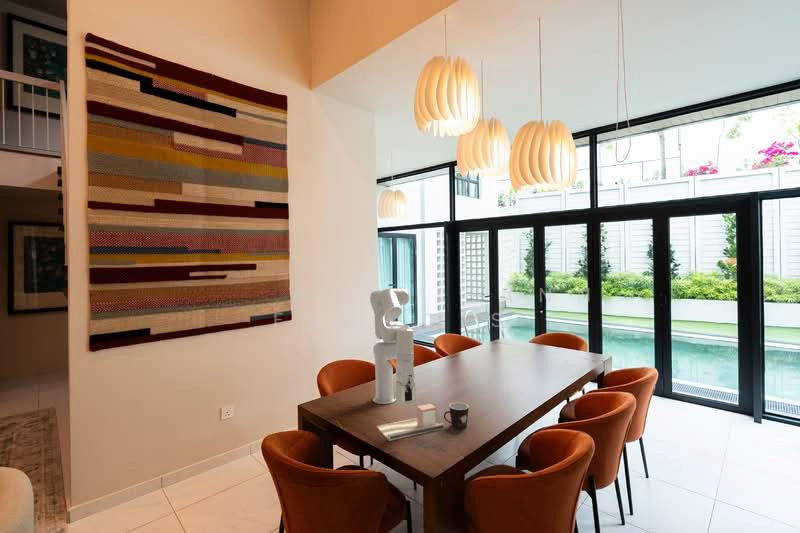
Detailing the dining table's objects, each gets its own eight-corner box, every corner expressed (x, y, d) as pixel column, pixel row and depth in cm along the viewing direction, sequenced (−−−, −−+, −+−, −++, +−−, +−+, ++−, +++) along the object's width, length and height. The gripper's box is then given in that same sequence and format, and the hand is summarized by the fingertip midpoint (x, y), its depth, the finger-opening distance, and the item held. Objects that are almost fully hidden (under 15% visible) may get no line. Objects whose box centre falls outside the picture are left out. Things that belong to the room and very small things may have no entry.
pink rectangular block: (422, 430, 164) (422, 410, 164) (417, 426, 169) (416, 406, 169) (436, 427, 167) (436, 407, 167) (431, 423, 172) (430, 403, 172)
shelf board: (376, 428, 170) (376, 421, 170) (427, 417, 180) (427, 411, 180) (389, 443, 155) (389, 435, 155) (444, 431, 166) (444, 424, 166)
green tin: (400, 405, 160) (400, 384, 160) (396, 401, 165) (395, 381, 165) (415, 403, 163) (415, 382, 163) (410, 399, 168) (410, 379, 168)
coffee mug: (466, 424, 173) (466, 402, 173) (471, 432, 164) (470, 409, 164) (441, 424, 172) (441, 403, 172) (444, 433, 164) (444, 410, 164)
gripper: (389, 353, 170) (390, 393, 170) (405, 362, 155) (406, 406, 155) (404, 351, 173) (405, 391, 173) (421, 360, 158) (422, 403, 158)
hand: (405, 398), depth 164 cm, fingers closed on green tin, 5 cm apart
